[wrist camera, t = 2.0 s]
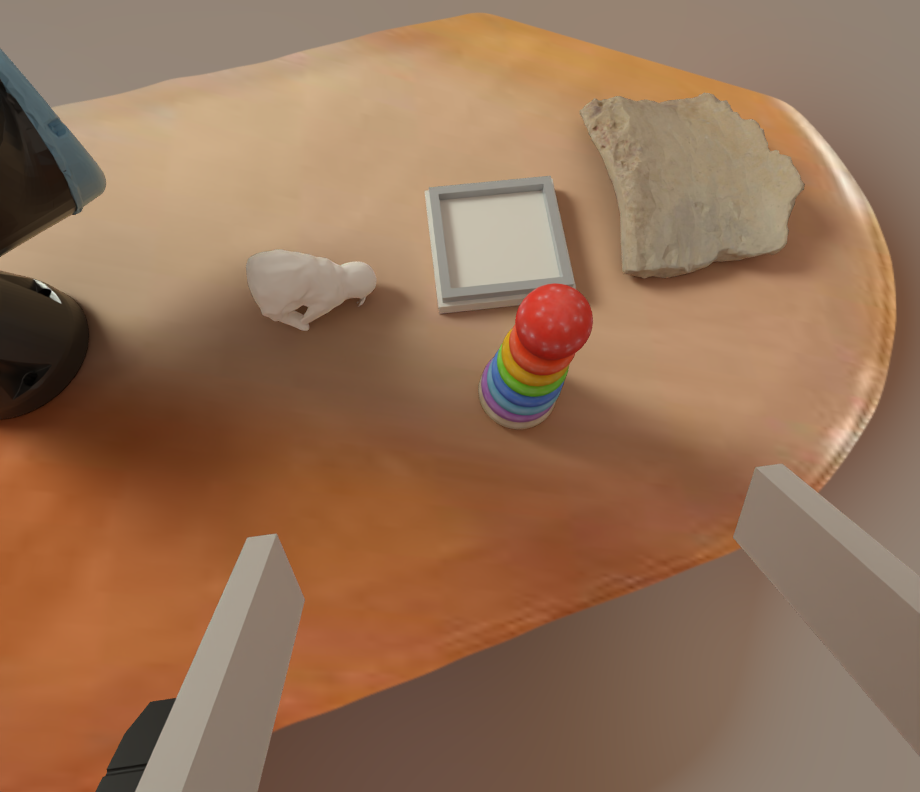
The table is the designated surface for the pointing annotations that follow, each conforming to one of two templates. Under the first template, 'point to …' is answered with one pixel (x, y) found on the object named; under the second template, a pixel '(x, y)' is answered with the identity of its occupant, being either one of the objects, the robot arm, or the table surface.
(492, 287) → the tray
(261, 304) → the lumpy white figurine
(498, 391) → the stacking toy
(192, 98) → the table surface
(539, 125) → the table surface
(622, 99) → the tablet
